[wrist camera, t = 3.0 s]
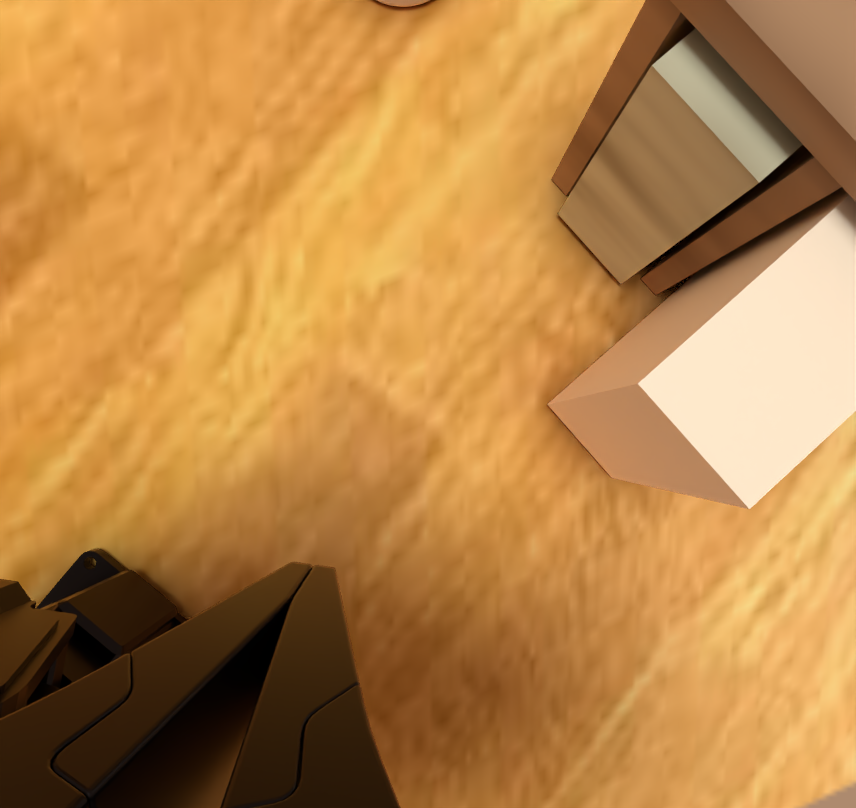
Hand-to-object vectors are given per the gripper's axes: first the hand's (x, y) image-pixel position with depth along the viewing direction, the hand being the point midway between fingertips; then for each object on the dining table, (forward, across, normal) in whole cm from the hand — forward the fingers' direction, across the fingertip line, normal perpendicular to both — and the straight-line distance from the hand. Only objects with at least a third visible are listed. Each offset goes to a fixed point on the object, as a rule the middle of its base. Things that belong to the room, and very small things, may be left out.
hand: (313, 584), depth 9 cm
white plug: (+15, +12, +2) cm, 19 cm away
